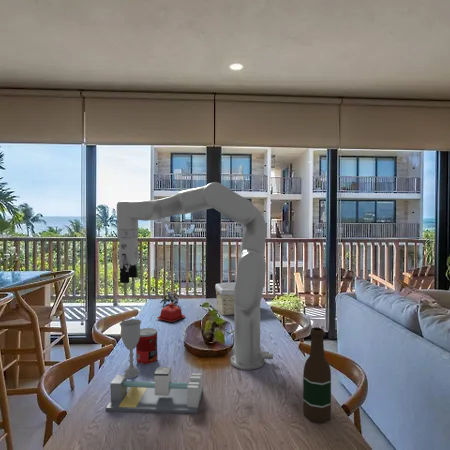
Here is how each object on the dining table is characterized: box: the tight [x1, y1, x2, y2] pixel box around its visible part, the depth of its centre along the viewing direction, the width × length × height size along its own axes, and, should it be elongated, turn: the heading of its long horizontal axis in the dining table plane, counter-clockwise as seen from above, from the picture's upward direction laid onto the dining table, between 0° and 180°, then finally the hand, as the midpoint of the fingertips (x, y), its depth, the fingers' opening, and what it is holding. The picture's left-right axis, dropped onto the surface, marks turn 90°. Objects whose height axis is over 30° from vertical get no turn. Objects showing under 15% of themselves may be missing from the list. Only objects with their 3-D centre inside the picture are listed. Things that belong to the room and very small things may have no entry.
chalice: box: [119, 319, 142, 379], centre depth 114 cm, size 7×7×18 cm
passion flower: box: [159, 290, 180, 307], centre depth 196 cm, size 11×11×12 cm
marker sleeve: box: [153, 366, 172, 396], centre depth 98 cm, size 4×4×6 cm
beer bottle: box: [302, 326, 332, 424], centre depth 90 cm, size 8×8×24 cm
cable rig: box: [105, 372, 204, 414], centre depth 99 cm, size 26×12×6 cm, turn 86°
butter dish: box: [156, 302, 186, 323], centre depth 173 cm, size 12×12×8 cm
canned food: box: [135, 327, 158, 365], centre depth 125 cm, size 8×8×11 cm
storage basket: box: [214, 282, 262, 316], centre depth 186 cm, size 24×16×15 cm
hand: (128, 280), depth 123 cm, fingers open, 9 cm apart
